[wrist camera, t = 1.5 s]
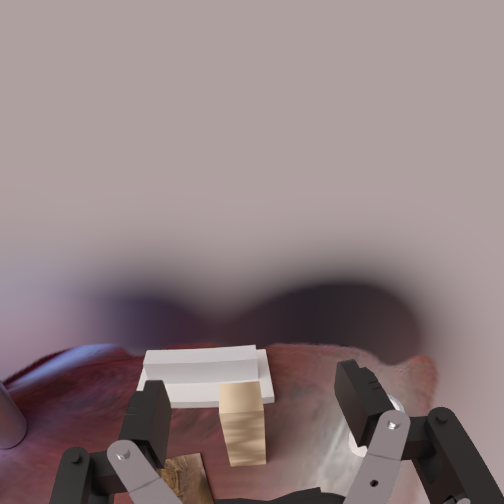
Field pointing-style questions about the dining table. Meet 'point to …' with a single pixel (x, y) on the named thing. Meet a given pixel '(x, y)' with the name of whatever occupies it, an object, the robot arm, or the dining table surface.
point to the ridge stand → (206, 373)
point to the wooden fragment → (187, 479)
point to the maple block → (243, 422)
